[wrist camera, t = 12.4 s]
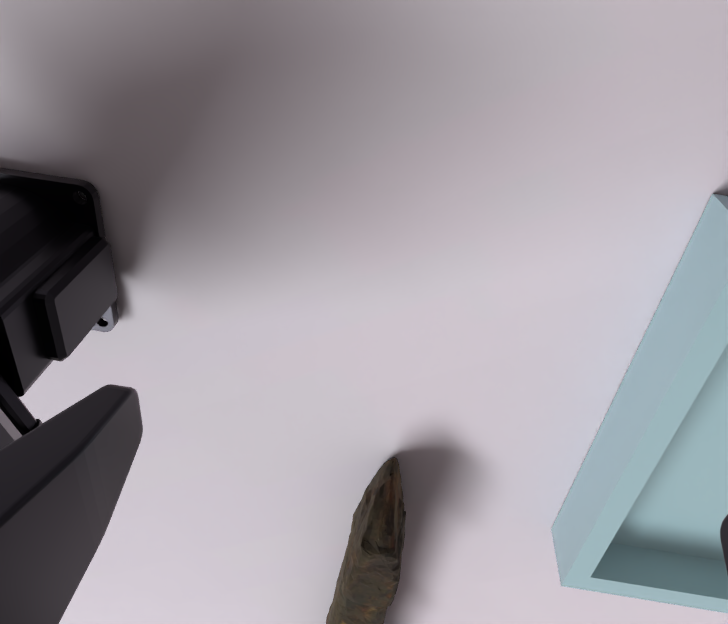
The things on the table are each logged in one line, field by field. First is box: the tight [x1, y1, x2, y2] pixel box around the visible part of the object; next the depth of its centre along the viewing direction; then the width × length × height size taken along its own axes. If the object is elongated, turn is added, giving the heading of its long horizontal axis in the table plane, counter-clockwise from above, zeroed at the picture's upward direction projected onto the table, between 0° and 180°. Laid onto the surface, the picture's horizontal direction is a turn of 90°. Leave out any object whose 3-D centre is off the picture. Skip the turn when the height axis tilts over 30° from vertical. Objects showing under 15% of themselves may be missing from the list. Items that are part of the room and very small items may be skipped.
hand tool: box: [326, 458, 406, 624], centre depth 31 cm, size 19×4×5 cm, turn 169°
